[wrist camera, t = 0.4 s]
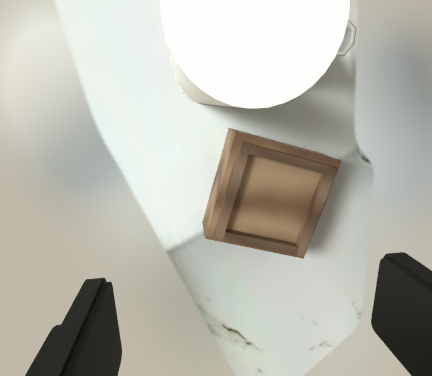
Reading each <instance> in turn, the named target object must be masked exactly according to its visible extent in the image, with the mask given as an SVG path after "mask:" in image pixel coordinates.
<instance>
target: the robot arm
mask: <svg viewBox="0 0 432 376" xmlns="http://www.w3.org/2000/svg"><path fill="white" fill-rule="evenodd" d="M371 323H372V327H373V329H374V331H375V332H376V334H377V335H378V336H379V337H380V338H381V340H382V341H383V342H384V343H385V345H386V346H387V347H388V348H389V349H390V351H391V352H392V353H393V354H394V355H395V356H396V358H397V359H398V360H399V361H400V362H401V363H402V365H403V366H404V367H405V368H406V369H407V371H408V372H409V373H410V374H411V376H432V271H431V270H430V269H428V268H427V267H425V266H424V265H422V264H421V263H419V262H418V261H416V260H415V259H413V258H412V257H410V256H409V255H408V254H406V253H402V252H401V253H389V254H386V255H385V256H384V258H383V259H381V260H380V265H379V271H378V279H377V285H376V292H375V299H374V305H373V312H372V319H371ZM121 356H122V347H121V340H120V333H119V326H118V320H117V314H116V306H115V300H114V294H113V286H112V283H111V282H106V280H105V278H97V279H87V280H85V282H84V283H83V285H82V287H81V289H80V291H79V293H78V295H77V296H76V298H75V300H74V302H73V304H72V306H71V308H70V309H69V311H68V313H67V315H66V317H65V319H64V321H63V322H62V324H61V325H56V326H55V327H54V328H53V329H52V330H51V331H50V333H49V335H48V337H47V338H46V340H45V342H44V344H43V345H42V347H41V349H40V351H39V352H38V354H37V356H36V357H35V359H34V361H33V363H32V364H31V366H30V368H29V370H28V371H27V373H26V375H25V376H118V371H119V367H120V363H121Z"/></svg>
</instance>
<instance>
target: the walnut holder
mask: <svg viewBox="0 0 432 376" xmlns="http://www.w3.org/2000/svg"><path fill="white" fill-rule="evenodd" d="M340 163H341V161H340V160H337V159H334V158H332V157H329V156H326V155H324V154H321V153H317V152H313V151H310V150H306V149H303V148H299V147H295V146H292V145H288V144H285V143H281V142H277V141H274V140H270V139H266V138H263V137H259V136H256V135H252V134H248V133H245V132H241V131H238V130H234V129H230V128H229V130H228V133H227V137H226V140H225V144H224V148H223V151H222V155H221V158H220V162H219V165H218V169H217V172H216V176H215V179H214V183H213V187H212V190H211V194H210V197H209V201H208V204H207V208H206V211H205V215H204V219H203V228H204V234H205V238H206V239H211V240H215V241H220V242H225V243H230V244H235V245H240V246H245V247H250V248H255V249H260V250H265V251H270V252H274V253H279V254H284V255H289V256H294V257H299V258H304V256H305V253H306V251H307V248H308V246H309V243H310V241H311V238H312V235H313V233H314V230H315V228H316V225H317V222H318V220H319V217H320V215H321V212H322V209H323V207H324V204H325V202H326V199H327V197H328V194H329V191H330V189H331V186H332V184H333V181H334V178H335V176H336V173H337V171H338V168H339V166H340Z"/></svg>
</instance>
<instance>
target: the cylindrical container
mask: <svg viewBox="0 0 432 376" xmlns="http://www.w3.org/2000/svg"><path fill="white" fill-rule="evenodd" d="M349 6H350V0H160V8H161V20H162V25H163V29H164V33H165V37H166V41H167V45H168V49H169V53H170V57H171V61H172V65H173V69H174V73H175V77H176V80H177V84H178V86H179V88H180V89H181V91H182V92H183V94H185V95H186V96H187V97H188V98H189V99H191V100H192V101H195V102H197V103H202V104H211V105H220V106H229V107H239V108H248V109H252V108H268V107H272V106H276V105H279V104H283V103H286V102H288V101H290V100H292V99H294V98H296V97H298V96H299V95H301V94H302V93H304V92H305V91H306V90H307V89H309V88H310V87H311V86H313V85H314V84H315V83H316V82H317V81H318V79H319V78H320V77H321V76H322V75H323V74H324V73H325V72H326V70H327V69H328V67H329V66H330V64H331V63H332V61H333V60H334V58H335V56H336V54H337V52H338V50H339V47H340V45H341V43H342V41H343V38H344V34H345V30H346V26H347V22H348V18H349Z"/></svg>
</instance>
